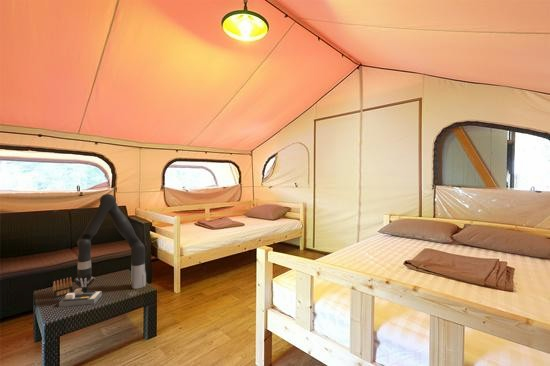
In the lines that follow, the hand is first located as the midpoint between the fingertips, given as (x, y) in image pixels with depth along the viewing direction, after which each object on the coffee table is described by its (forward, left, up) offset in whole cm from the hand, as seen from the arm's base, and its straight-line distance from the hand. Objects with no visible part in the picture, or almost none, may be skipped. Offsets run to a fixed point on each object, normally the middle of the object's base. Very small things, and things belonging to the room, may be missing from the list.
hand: (85, 291), depth 177 cm
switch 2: (+4, 0, -1) cm, 4 cm away
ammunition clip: (+17, -8, -5) cm, 20 cm away
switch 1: (+6, +6, -1) cm, 8 cm away
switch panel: (+1, +3, -5) cm, 5 cm away
